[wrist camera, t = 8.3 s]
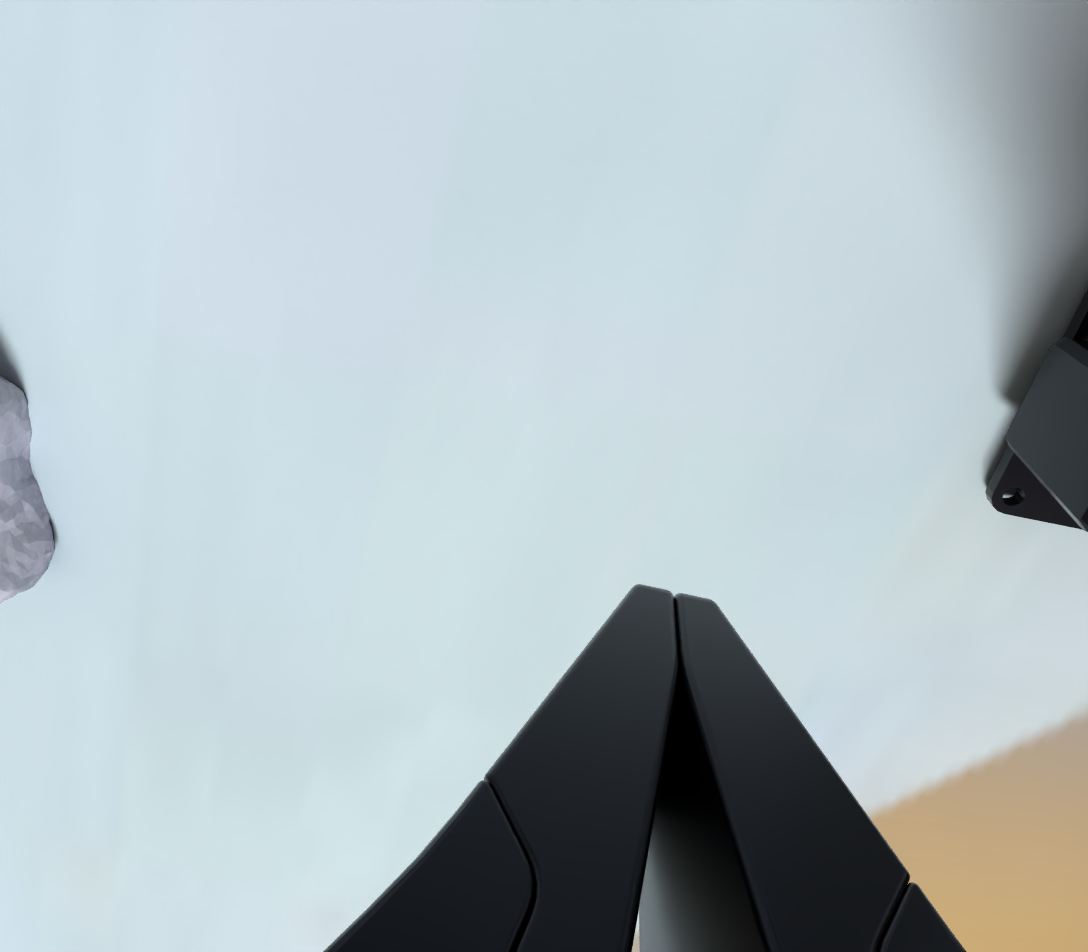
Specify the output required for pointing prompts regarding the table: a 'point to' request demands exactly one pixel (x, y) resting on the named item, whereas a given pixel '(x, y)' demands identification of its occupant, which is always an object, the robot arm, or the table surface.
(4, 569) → the stone block
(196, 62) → the table surface
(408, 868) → the robot arm
